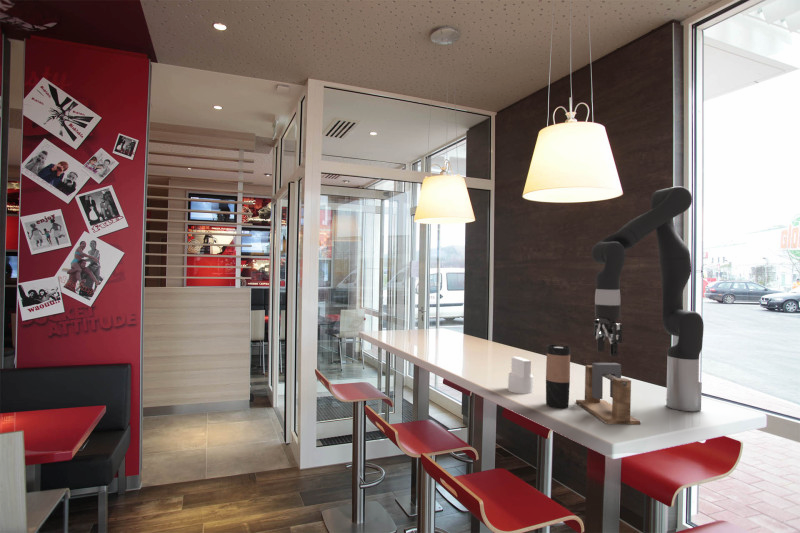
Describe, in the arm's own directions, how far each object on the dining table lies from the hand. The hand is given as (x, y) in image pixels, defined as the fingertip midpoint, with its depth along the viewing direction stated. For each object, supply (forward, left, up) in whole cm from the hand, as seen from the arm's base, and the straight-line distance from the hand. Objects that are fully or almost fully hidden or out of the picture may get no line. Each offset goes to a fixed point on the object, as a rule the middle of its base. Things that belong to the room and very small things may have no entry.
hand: (606, 353), depth 147 cm
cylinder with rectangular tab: (+20, -26, -19) cm, 38 cm away
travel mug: (+13, -7, -19) cm, 24 cm away
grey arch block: (0, 0, -14) cm, 14 cm away
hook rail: (0, 0, -19) cm, 19 cm away
